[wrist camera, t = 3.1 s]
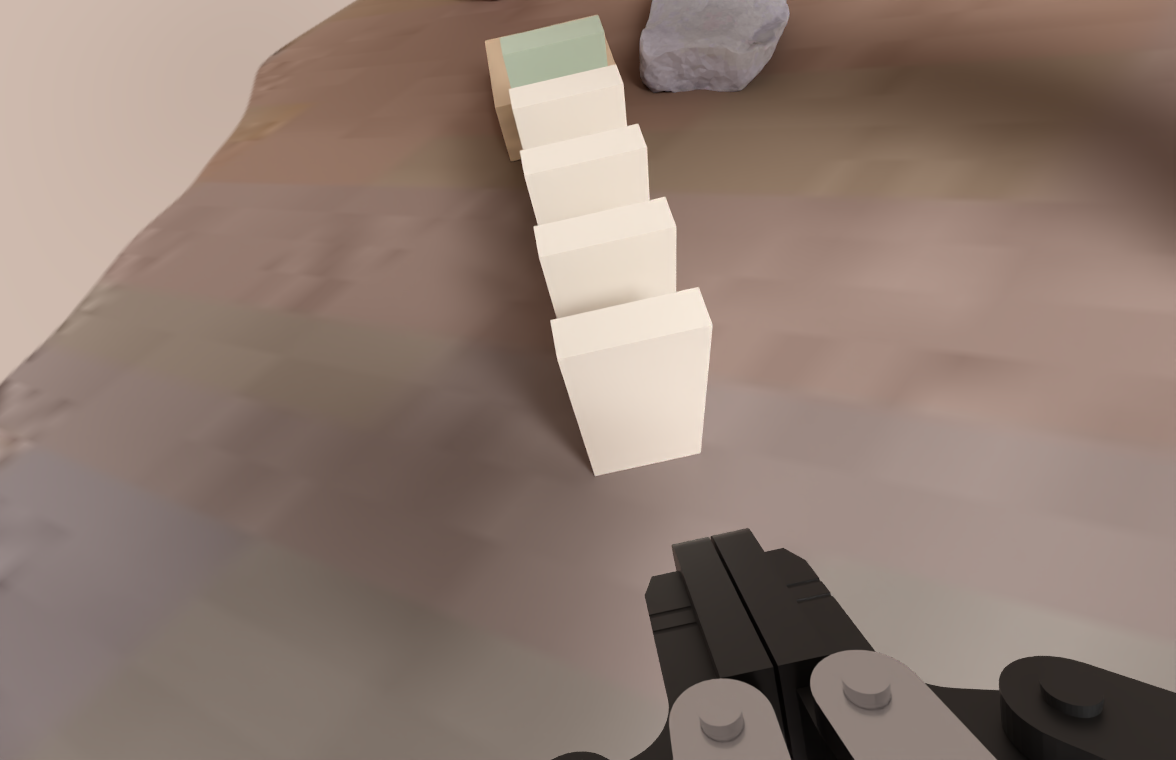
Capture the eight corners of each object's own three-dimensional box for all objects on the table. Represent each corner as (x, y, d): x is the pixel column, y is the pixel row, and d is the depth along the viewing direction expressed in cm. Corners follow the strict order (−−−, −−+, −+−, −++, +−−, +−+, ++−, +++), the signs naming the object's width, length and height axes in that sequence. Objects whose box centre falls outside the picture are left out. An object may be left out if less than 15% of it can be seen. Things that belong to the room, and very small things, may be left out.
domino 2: (549, 245, 35) (508, 89, 26) (630, 227, 34) (616, 64, 26) (553, 264, 34) (512, 109, 25) (636, 245, 34) (623, 83, 25)
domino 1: (540, 196, 37) (499, 37, 28) (615, 178, 37) (597, 15, 28) (543, 212, 36) (502, 55, 28) (620, 195, 36) (604, 31, 27)
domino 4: (573, 368, 30) (533, 226, 21) (667, 347, 30) (665, 196, 21) (578, 394, 29) (538, 257, 20) (675, 372, 29) (676, 226, 20)
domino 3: (560, 302, 32) (519, 150, 24) (647, 282, 32) (638, 123, 24) (565, 324, 31) (524, 175, 23) (654, 304, 31) (646, 147, 23)
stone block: (774, 28, 47) (654, 5, 47) (798, -38, 42) (664, -62, 43) (765, 126, 41) (629, 99, 42) (790, 63, 37) (638, 34, 37)
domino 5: (588, 445, 27) (550, 320, 19) (691, 422, 27) (698, 287, 19) (594, 476, 27) (557, 359, 18) (700, 453, 26) (712, 324, 18)
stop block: (603, 70, 43) (597, 14, 40) (625, 135, 39) (620, 78, 35) (499, 94, 43) (484, 40, 40) (510, 161, 39) (494, 107, 36)
